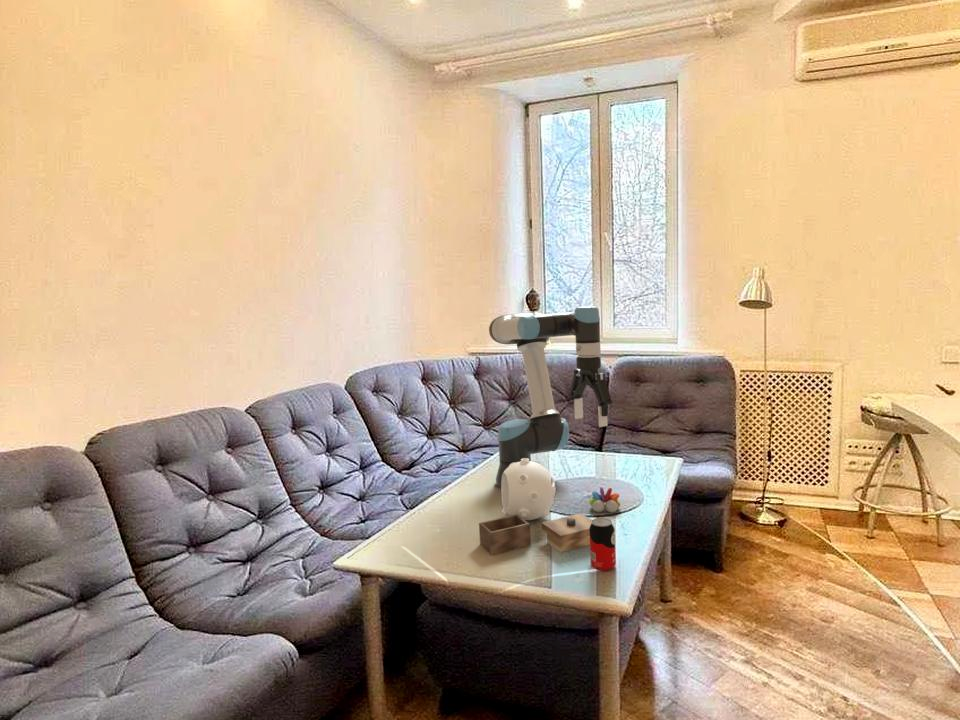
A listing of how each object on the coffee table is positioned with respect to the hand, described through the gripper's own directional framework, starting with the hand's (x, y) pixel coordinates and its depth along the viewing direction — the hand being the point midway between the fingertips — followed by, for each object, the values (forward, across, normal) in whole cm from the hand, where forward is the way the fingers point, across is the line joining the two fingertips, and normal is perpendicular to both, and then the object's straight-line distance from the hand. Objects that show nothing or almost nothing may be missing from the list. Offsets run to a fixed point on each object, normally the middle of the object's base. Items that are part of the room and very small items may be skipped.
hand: (590, 422), depth 188 cm
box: (+29, +11, -37) cm, 48 cm away
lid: (+25, +19, -20) cm, 37 cm away
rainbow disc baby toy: (+29, +2, +3) cm, 29 cm away
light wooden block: (+29, +19, -20) cm, 40 cm away
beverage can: (+29, +34, -20) cm, 49 cm away
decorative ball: (+29, -3, -22) cm, 36 cm away
